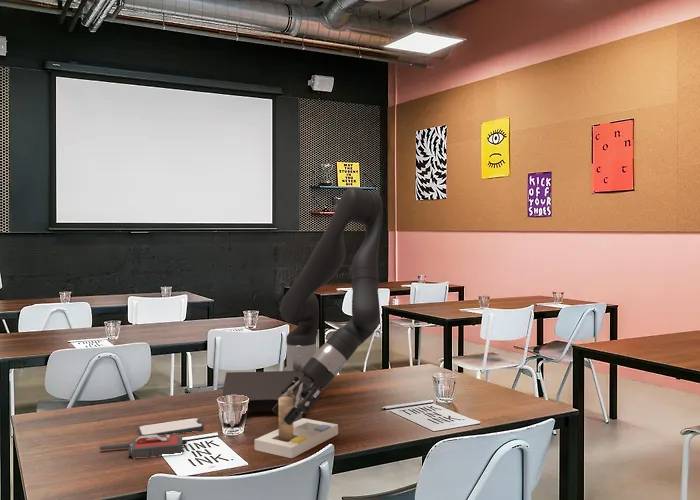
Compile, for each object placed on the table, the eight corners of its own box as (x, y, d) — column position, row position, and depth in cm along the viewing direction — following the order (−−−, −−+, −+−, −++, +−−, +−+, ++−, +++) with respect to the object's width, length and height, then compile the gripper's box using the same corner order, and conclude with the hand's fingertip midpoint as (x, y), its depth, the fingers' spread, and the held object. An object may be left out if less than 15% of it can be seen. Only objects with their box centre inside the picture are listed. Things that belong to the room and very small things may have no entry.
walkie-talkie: (186, 444, 154) (100, 452, 149) (186, 426, 154) (100, 433, 148) (188, 456, 146) (96, 465, 140) (187, 437, 146) (95, 445, 140)
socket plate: (291, 458, 143) (291, 445, 143) (254, 449, 149) (254, 437, 149) (338, 434, 160) (338, 423, 160) (302, 427, 166) (302, 416, 166)
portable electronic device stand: (219, 447, 168) (217, 422, 164) (227, 390, 188) (225, 366, 184) (304, 444, 170) (305, 419, 166) (303, 388, 190) (303, 364, 186)
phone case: (141, 442, 156) (204, 432, 163) (140, 435, 156) (204, 426, 163) (137, 432, 164) (198, 423, 171) (136, 426, 164) (198, 417, 171)
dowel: (275, 448, 149) (275, 399, 149) (284, 444, 152) (284, 395, 152) (287, 451, 148) (287, 401, 147) (296, 446, 151) (296, 397, 150)
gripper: (303, 351, 159) (260, 400, 155) (325, 361, 146) (279, 416, 142) (323, 369, 161) (281, 419, 157) (346, 381, 149) (301, 435, 144)
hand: (280, 417), depth 149 cm, fingers open, 8 cm apart
